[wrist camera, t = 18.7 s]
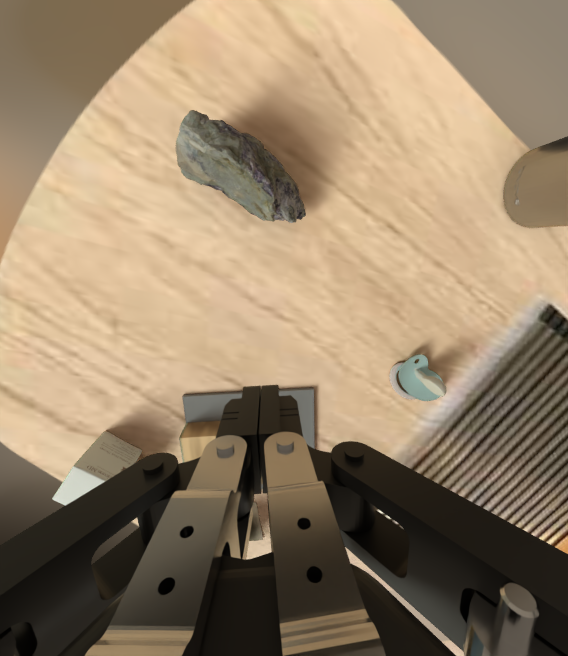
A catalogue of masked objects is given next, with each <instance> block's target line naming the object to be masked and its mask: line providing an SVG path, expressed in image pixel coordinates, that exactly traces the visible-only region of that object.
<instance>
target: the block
mask: <svg viewBox="0 0 568 656" xmlns="http://www.w3.org/2000/svg"><path fill="white" fill-rule="evenodd" d="M219 424H220V421H208V422H192V423H186V425H185V427H184V429H183V431H182V433H181V436H180V438H179V440H180V446H181V453H182V459H183V463H184V462H187V461H191V460H194V459H197V458H199V457H201V455H202V453H203V451H204V448H205V447H206V445H207V444H208V443H209V442H210V441H212V440H214V439H215V438H216V435H217V431H218V428H219Z"/></svg>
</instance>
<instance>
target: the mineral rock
mask: <svg viewBox="0 0 568 656" xmlns="http://www.w3.org/2000/svg"><path fill="white" fill-rule="evenodd" d="M176 154H177V162H178V166H179V167H180V168H181V172H182V174H183V175H184V176H185V177H186V178H188V179H191V180H194V181H196V182H197V183H200V184H201V185H202V184H203V185H207V186H210V187H212V188H214V189H216V190H220V191H222V192H223V193H224V194H225V195H226V196H227V197H228V198H231V199H233V200H234V201H236V202H238V203H239V204H240V205H242V206H243V207H244V208H245V209H246V210H247V211H248V212H249V213H251V214H253V215H256V216H257V217H258V218H260V219H261V220H268V221H275V220H282V221H283V220H286V221H288V222H289V223H293V222H296V219H300V220H301V219H302V218H303V217H305V216H306V213H305V209H304V204H303V202H302V200H301V198H300V196H299V190H298V187H297V185H296V183H295V182H294V181H293V179H292V178H291V177H290V176H289V174H288V173H286V171H285V170H284V168H283V166H282V164H281V163H280V162H279V161H278V160H277V159H276V158H275V157H274V156H273V155H272V154H271V153H270V152H269V151H267V150H266V149H264V146H263V144H262V143H261V142H260V141H259V140H257V139H256V138H255V137H253V136H251V135H249V134H247V133H240V132H239V131H237V130H236V129H234V128H233V127H232V126H230V125H228V124H226V123H225V122H224V121H222V120H221V121H219V120H209V118H208V116H207V115H205V114H201V113H199V112H197V111H194V110H191V111H190V112H189V114H188V115H187V116H186V117H185V118H184V119H183V121H182V123H181V126H180V132H179V135H178V138H177V141H176Z"/></svg>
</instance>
